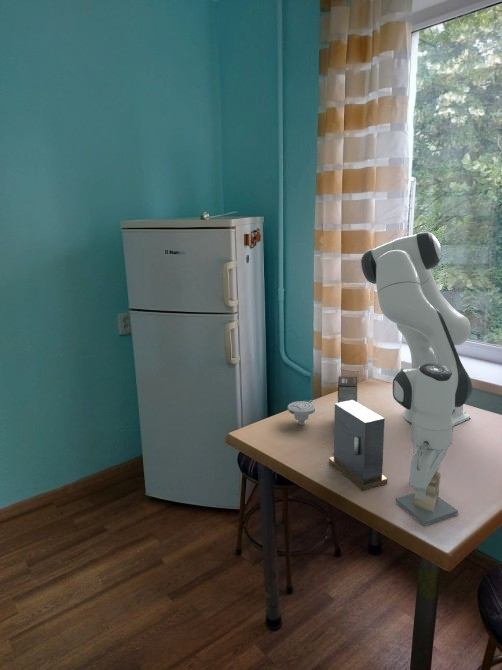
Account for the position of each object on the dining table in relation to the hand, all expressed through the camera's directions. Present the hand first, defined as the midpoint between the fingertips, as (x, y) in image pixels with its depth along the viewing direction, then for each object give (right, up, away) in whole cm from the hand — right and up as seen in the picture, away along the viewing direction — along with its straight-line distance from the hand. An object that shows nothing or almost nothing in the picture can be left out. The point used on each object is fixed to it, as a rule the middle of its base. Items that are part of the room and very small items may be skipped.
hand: (427, 487), depth 110 cm
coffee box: (-9, +5, +48) cm, 49 cm away
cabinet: (-13, -2, +18) cm, 22 cm away
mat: (0, -6, +1) cm, 6 cm away
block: (0, -5, +1) cm, 5 cm away
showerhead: (-24, +6, +50) cm, 56 cm away
